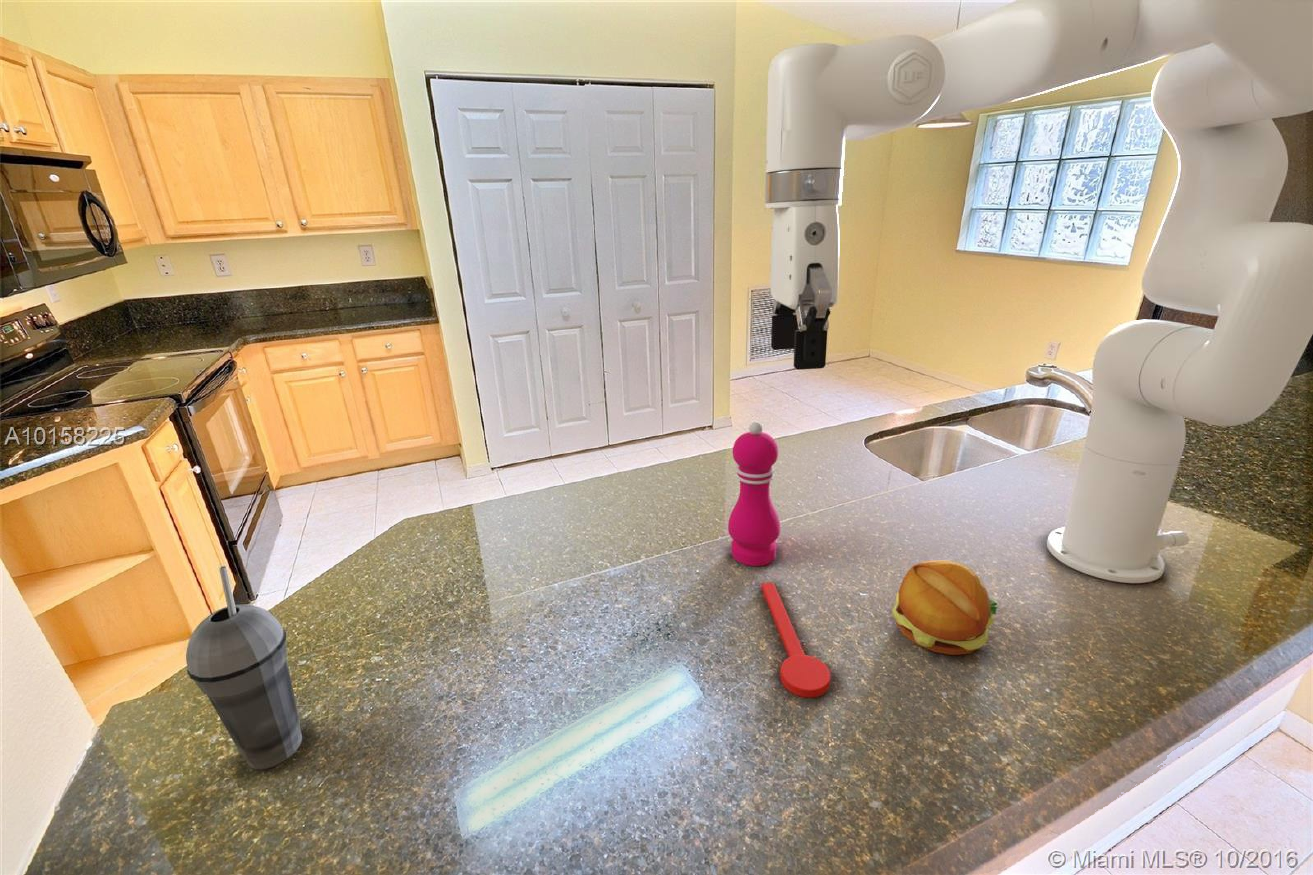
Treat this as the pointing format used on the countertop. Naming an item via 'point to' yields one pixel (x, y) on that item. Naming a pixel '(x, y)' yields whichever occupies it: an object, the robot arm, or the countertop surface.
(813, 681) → the spoon
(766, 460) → the pepper mill
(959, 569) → the cheeseburger
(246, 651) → the beverage cup
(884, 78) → the robot arm
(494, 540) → the countertop surface
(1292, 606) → the countertop surface
